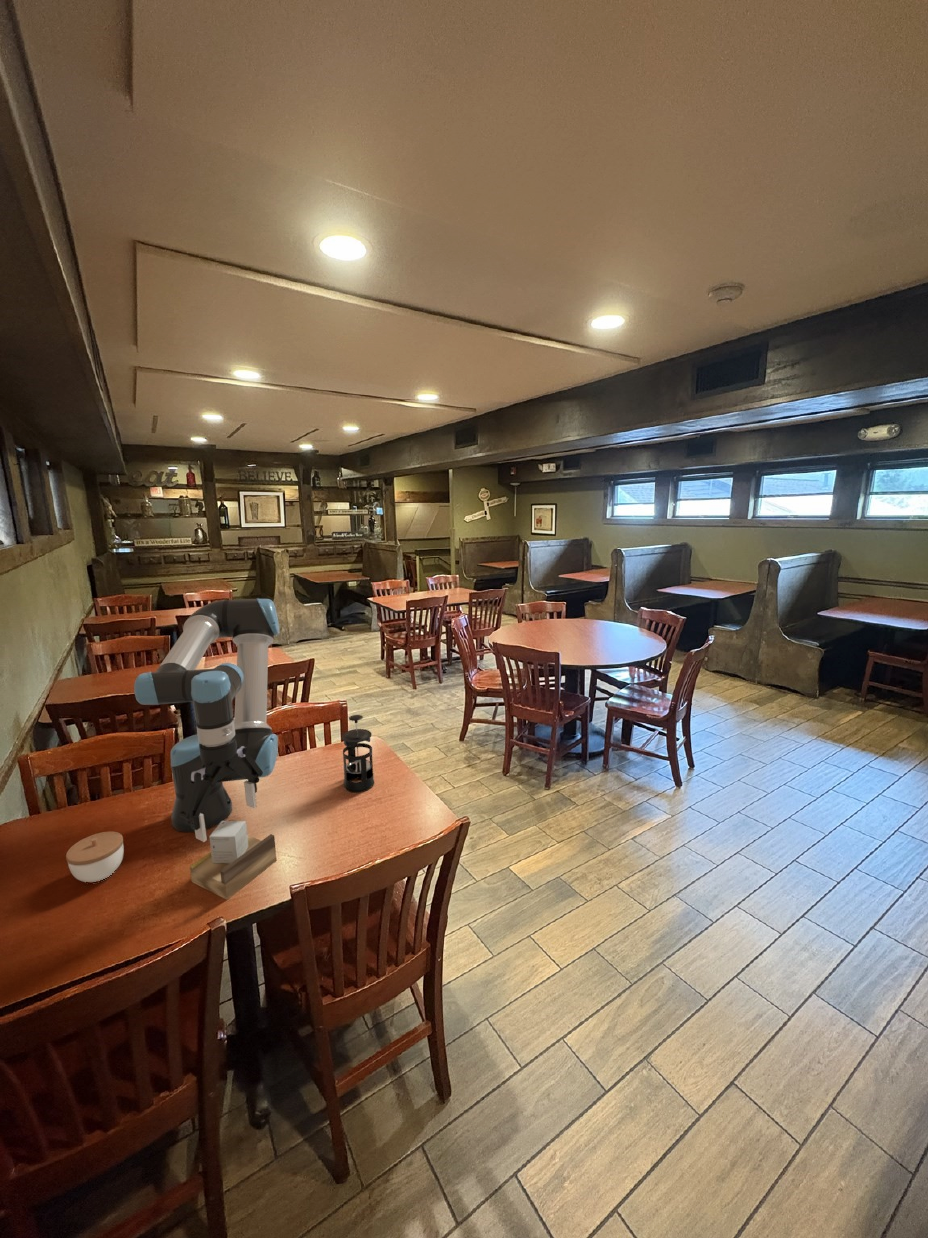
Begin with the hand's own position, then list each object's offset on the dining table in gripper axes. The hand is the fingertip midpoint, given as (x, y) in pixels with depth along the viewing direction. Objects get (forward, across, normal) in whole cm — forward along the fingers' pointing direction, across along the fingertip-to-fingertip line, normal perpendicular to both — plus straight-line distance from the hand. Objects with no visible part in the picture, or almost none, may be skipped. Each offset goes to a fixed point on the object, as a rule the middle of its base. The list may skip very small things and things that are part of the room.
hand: (227, 822), depth 115 cm
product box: (+9, -1, 0) cm, 9 cm away
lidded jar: (+13, -16, +26) cm, 33 cm away
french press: (+14, +43, -4) cm, 46 cm away
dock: (+13, -1, -2) cm, 13 cm away
